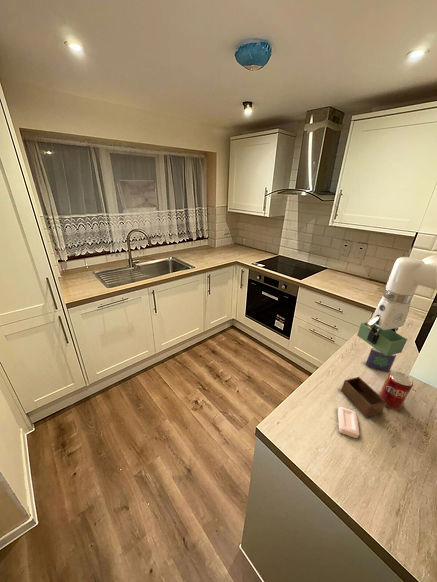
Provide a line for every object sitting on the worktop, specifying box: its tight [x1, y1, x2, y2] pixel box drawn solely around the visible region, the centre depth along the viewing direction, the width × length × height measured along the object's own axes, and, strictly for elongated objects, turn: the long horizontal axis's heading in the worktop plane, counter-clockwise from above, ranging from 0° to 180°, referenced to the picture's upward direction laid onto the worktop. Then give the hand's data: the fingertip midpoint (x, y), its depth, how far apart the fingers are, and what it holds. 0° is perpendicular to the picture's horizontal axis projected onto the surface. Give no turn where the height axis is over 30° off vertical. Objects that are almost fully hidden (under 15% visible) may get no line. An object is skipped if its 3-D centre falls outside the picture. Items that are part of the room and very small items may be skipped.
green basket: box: [356, 321, 408, 356], centre depth 83 cm, size 12×7×6 cm, turn 18°
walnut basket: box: [340, 376, 387, 419], centre depth 86 cm, size 12×7×6 cm, turn 17°
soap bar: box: [337, 406, 360, 439], centre depth 79 cm, size 5×9×2 cm, turn 158°
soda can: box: [378, 370, 414, 410], centre depth 85 cm, size 7×7×12 cm
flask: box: [365, 347, 397, 373], centre depth 102 cm, size 9×3×11 cm, turn 66°
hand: (379, 339), depth 83 cm, fingers closed on green basket, 7 cm apart
